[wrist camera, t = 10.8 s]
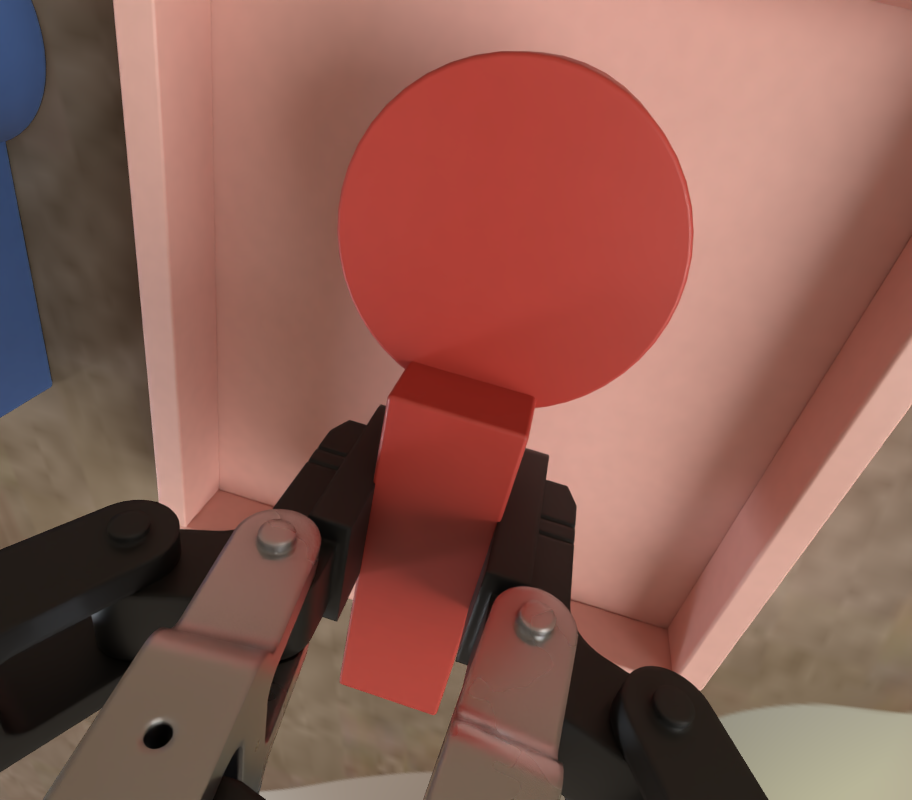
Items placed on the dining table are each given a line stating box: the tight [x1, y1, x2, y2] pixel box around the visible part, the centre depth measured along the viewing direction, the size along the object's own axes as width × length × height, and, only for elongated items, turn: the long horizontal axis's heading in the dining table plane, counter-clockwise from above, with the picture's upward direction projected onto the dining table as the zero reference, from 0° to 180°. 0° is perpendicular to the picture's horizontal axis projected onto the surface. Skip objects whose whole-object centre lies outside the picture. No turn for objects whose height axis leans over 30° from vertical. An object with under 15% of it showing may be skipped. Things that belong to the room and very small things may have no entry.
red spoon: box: [337, 51, 694, 715], centre depth 11 cm, size 12×5×3 cm, turn 168°
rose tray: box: [113, 0, 912, 691], centre depth 13 cm, size 17×16×2 cm
